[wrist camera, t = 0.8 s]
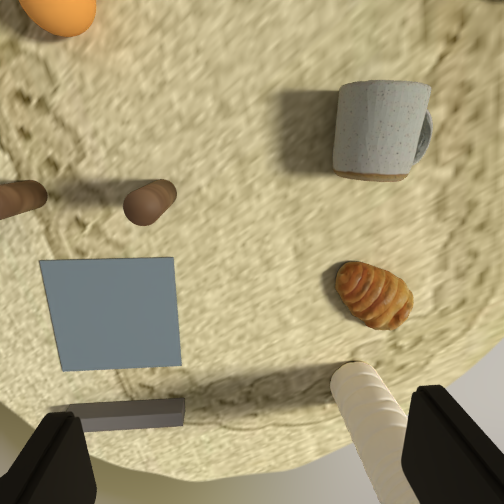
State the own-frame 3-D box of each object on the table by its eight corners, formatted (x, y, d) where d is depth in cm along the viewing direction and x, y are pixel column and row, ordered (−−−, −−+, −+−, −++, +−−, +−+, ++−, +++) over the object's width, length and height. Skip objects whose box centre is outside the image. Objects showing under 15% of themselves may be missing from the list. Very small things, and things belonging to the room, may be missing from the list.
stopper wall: (70, 404, 41) (60, 420, 38) (184, 397, 42) (181, 412, 39) (73, 417, 41) (63, 433, 39) (185, 410, 42) (182, 426, 40)
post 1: (15, 180, 32) (-62, 191, 24) (44, 180, 32) (-21, 191, 24) (21, 208, 33) (-51, 229, 24) (49, 207, 33) (-11, 228, 25)
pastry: (318, 289, 39) (328, 303, 35) (355, 244, 37) (369, 254, 34) (374, 327, 41) (389, 344, 37) (411, 286, 40) (430, 300, 36)
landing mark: (40, 260, 35) (39, 260, 35) (173, 257, 36) (173, 257, 36) (63, 370, 39) (62, 371, 39) (181, 364, 40) (181, 365, 40)
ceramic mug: (321, 175, 34) (348, 182, 27) (328, 90, 32) (360, 73, 25) (415, 176, 35) (466, 184, 28) (429, 94, 33) (489, 79, 26)
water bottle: (376, 356, 42) (574, 626, 18) (377, 396, 44) (556, 687, 20) (310, 367, 42) (423, 657, 18) (314, 407, 44) (420, 715, 20)
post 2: (148, 179, 33) (121, 190, 25) (175, 179, 33) (158, 189, 25) (150, 206, 34) (125, 226, 25) (177, 206, 34) (161, 225, 26)
